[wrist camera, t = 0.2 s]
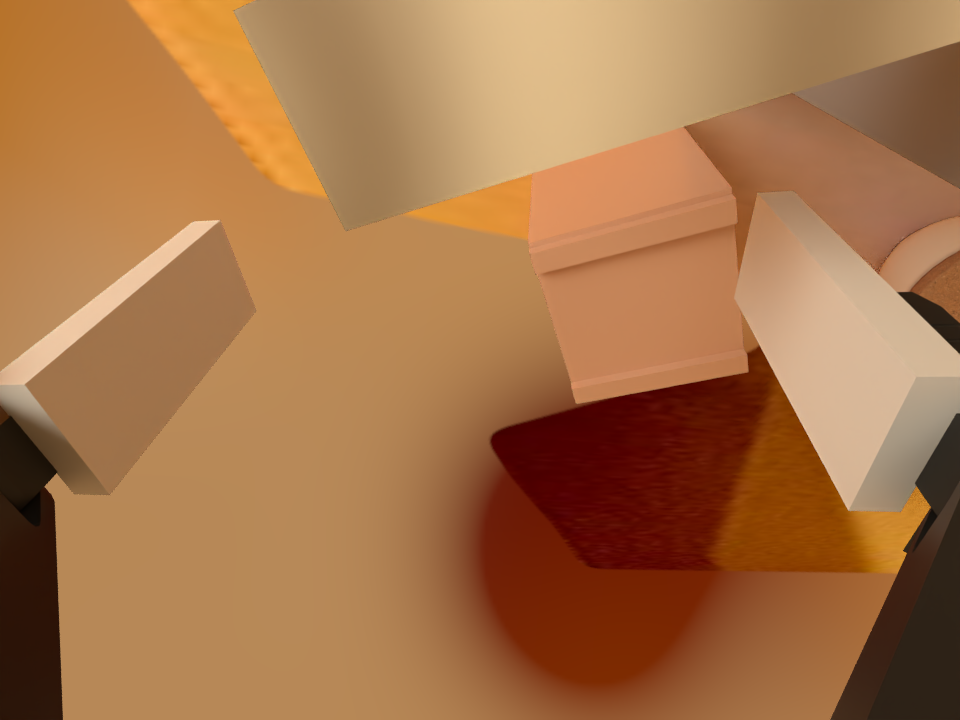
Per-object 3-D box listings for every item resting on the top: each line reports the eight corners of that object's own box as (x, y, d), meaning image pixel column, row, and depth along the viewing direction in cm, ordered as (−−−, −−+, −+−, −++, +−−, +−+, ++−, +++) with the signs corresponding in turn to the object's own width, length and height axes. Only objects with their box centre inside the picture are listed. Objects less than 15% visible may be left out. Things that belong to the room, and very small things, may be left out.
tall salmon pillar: (565, 239, 43) (577, 407, 27) (535, 125, 38) (527, 248, 22) (669, 211, 41) (748, 376, 25) (651, 86, 36) (735, 192, 20)
